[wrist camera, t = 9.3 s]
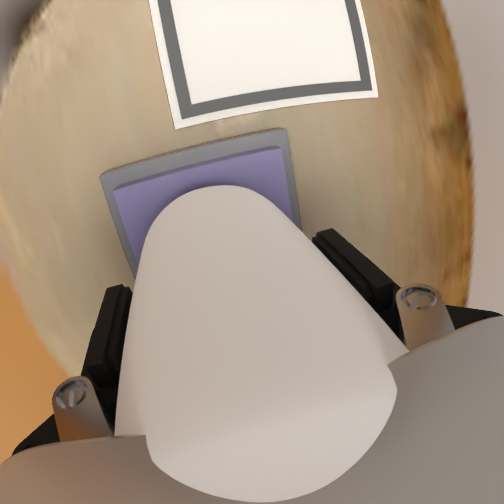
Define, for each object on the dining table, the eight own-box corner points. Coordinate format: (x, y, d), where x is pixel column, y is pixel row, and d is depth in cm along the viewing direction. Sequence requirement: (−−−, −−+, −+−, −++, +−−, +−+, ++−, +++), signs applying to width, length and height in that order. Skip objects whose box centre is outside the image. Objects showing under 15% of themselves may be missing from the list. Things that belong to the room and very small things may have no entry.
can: (302, 186, 13) (557, 400, 3) (280, 316, 16) (393, 545, 5) (142, 179, 12) (29, 540, 1) (146, 318, 14) (151, 594, 4)
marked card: (337, -66, 11) (340, -68, 10) (375, 97, 16) (379, 97, 15) (140, -55, 10) (139, -58, 9) (175, 129, 14) (175, 129, 14)
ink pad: (279, 127, 15) (293, 130, 14) (301, 278, 19) (315, 298, 18) (104, 171, 14) (94, 180, 13) (157, 317, 18) (156, 340, 17)
